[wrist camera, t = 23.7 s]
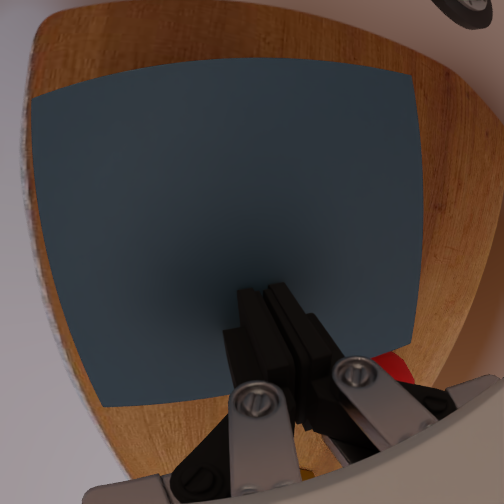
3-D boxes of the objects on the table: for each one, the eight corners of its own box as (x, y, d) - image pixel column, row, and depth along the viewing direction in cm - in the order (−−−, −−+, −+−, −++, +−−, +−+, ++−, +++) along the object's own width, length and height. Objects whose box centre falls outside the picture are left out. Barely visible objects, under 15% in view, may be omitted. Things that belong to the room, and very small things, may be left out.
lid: (402, 336, 14) (410, 343, 13) (106, 396, 11) (102, 407, 10) (400, 78, 10) (411, 75, 10) (40, 102, 8) (31, 98, 7)
